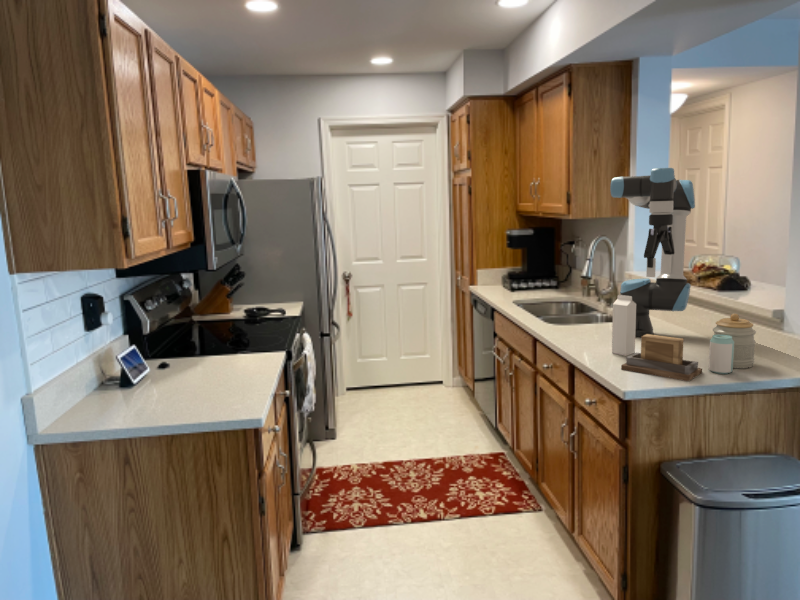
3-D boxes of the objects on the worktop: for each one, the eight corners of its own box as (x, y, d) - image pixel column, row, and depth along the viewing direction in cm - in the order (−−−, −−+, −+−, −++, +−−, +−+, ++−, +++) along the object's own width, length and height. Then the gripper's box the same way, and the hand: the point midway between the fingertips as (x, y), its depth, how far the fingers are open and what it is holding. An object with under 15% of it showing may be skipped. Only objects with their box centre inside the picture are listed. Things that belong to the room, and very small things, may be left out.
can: (704, 371, 197) (706, 336, 195) (714, 367, 201) (716, 332, 199) (726, 376, 191) (728, 339, 189) (736, 371, 195) (738, 336, 193)
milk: (625, 356, 219) (627, 297, 215) (611, 353, 224) (612, 295, 220) (635, 353, 223) (636, 295, 219) (620, 350, 228) (622, 293, 224)
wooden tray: (636, 361, 211) (636, 351, 210) (702, 372, 195) (702, 361, 195) (621, 369, 202) (621, 358, 202) (688, 381, 187) (689, 369, 186)
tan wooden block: (646, 362, 205) (646, 334, 203) (682, 368, 196) (683, 338, 195) (640, 365, 201) (641, 336, 200) (676, 371, 193) (678, 341, 191)
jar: (763, 366, 200) (766, 315, 197) (732, 370, 196) (735, 318, 193) (731, 357, 212) (734, 309, 209) (702, 361, 209) (704, 312, 206)
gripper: (664, 212, 216) (662, 270, 219) (634, 215, 198) (632, 278, 202) (685, 212, 210) (683, 271, 214) (657, 215, 193) (655, 279, 197)
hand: (658, 274), depth 208 cm, fingers open, 13 cm apart
